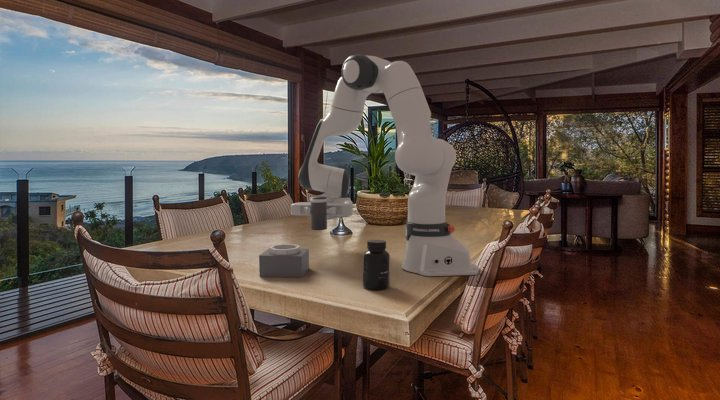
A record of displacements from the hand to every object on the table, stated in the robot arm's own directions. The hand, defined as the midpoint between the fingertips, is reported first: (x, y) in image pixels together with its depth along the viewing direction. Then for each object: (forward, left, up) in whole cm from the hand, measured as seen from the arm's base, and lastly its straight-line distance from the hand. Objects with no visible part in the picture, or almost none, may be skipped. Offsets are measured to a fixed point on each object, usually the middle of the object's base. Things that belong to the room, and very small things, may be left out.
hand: (318, 211), depth 131 cm
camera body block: (+8, +10, -17) cm, 21 cm away
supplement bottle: (-19, +22, -17) cm, 34 cm away
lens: (0, -1, -6) cm, 6 cm away
